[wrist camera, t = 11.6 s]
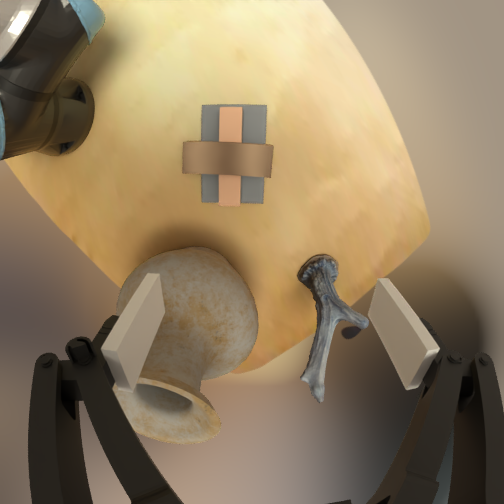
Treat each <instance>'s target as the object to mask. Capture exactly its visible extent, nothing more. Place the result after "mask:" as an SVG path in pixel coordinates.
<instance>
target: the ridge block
mask: <svg viewBox="0 0 504 504" xmlns="http://www.w3.org/2000/svg"><path fill="white" fill-rule="evenodd" d="M266 113H267V105H202V129H201V141H217V142H239V143H255V144H265V142H266ZM201 180H202V202H213V203H219V206H240V204H241V203H261V204H263V195H264V177H254V176H238V175H219V174H201Z"/></svg>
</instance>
